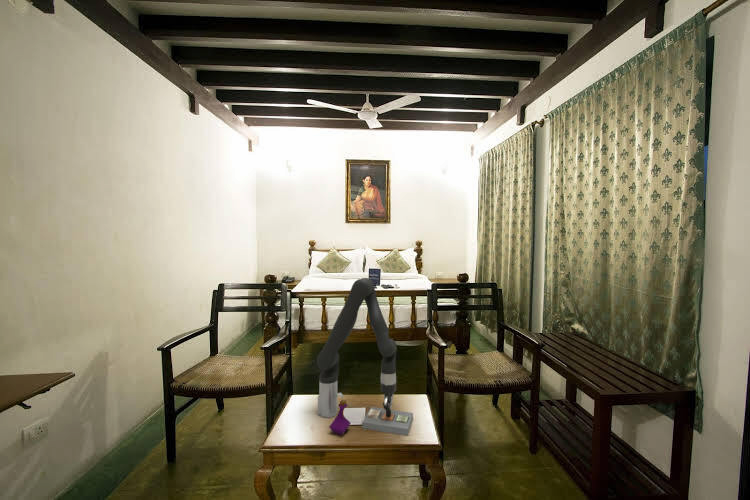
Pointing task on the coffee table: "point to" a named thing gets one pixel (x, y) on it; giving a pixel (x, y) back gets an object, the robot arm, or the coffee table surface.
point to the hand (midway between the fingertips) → (388, 416)
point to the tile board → (388, 422)
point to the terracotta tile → (388, 417)
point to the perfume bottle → (340, 419)
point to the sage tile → (402, 419)
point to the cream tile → (374, 414)
